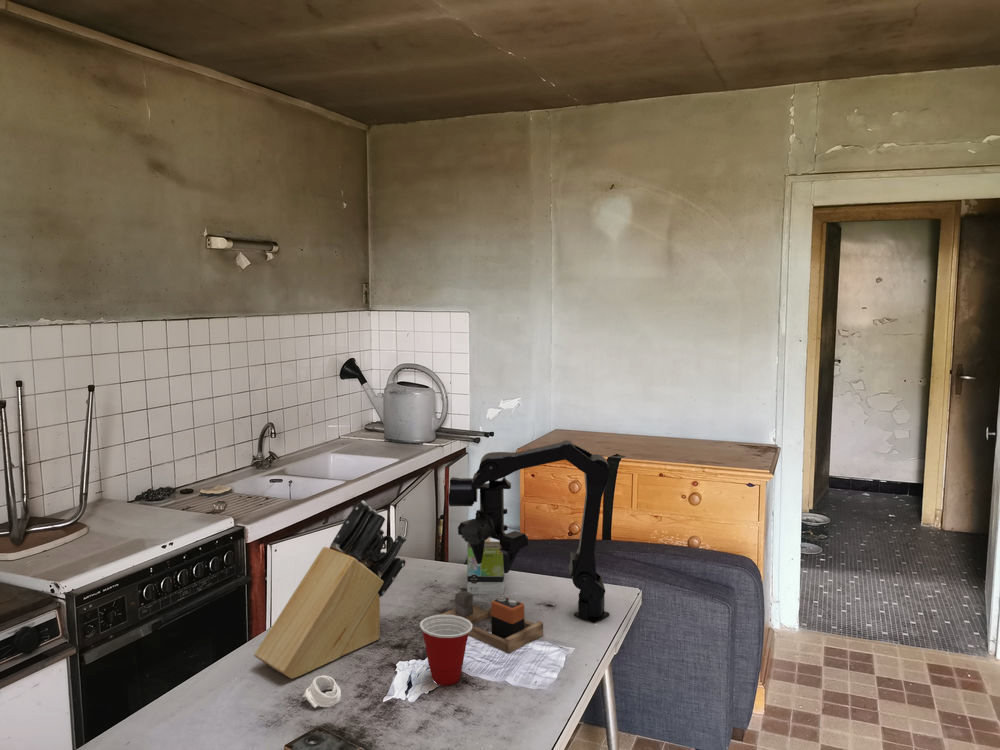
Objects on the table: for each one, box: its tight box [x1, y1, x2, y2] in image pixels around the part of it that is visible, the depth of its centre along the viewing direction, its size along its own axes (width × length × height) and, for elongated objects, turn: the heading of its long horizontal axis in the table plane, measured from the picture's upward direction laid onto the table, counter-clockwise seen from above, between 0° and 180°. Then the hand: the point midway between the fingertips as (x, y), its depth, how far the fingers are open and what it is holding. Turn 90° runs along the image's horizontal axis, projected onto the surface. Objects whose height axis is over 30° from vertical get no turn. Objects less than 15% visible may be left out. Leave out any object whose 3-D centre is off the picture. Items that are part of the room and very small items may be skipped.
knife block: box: [253, 499, 407, 679], centre depth 169 cm, size 11×35×31 cm, turn 139°
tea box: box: [466, 531, 506, 595], centre depth 205 cm, size 15×10×15 cm
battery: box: [490, 595, 525, 639], centre depth 172 cm, size 4×7×10 cm, turn 46°
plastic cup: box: [419, 614, 473, 687], centre depth 156 cm, size 11×11×12 cm
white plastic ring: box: [301, 675, 342, 709], centre depth 149 cm, size 8×7×5 cm
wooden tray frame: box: [440, 590, 544, 654], centre depth 178 cm, size 12×24×6 cm, turn 46°
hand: (492, 568), depth 185 cm, fingers open, 9 cm apart
